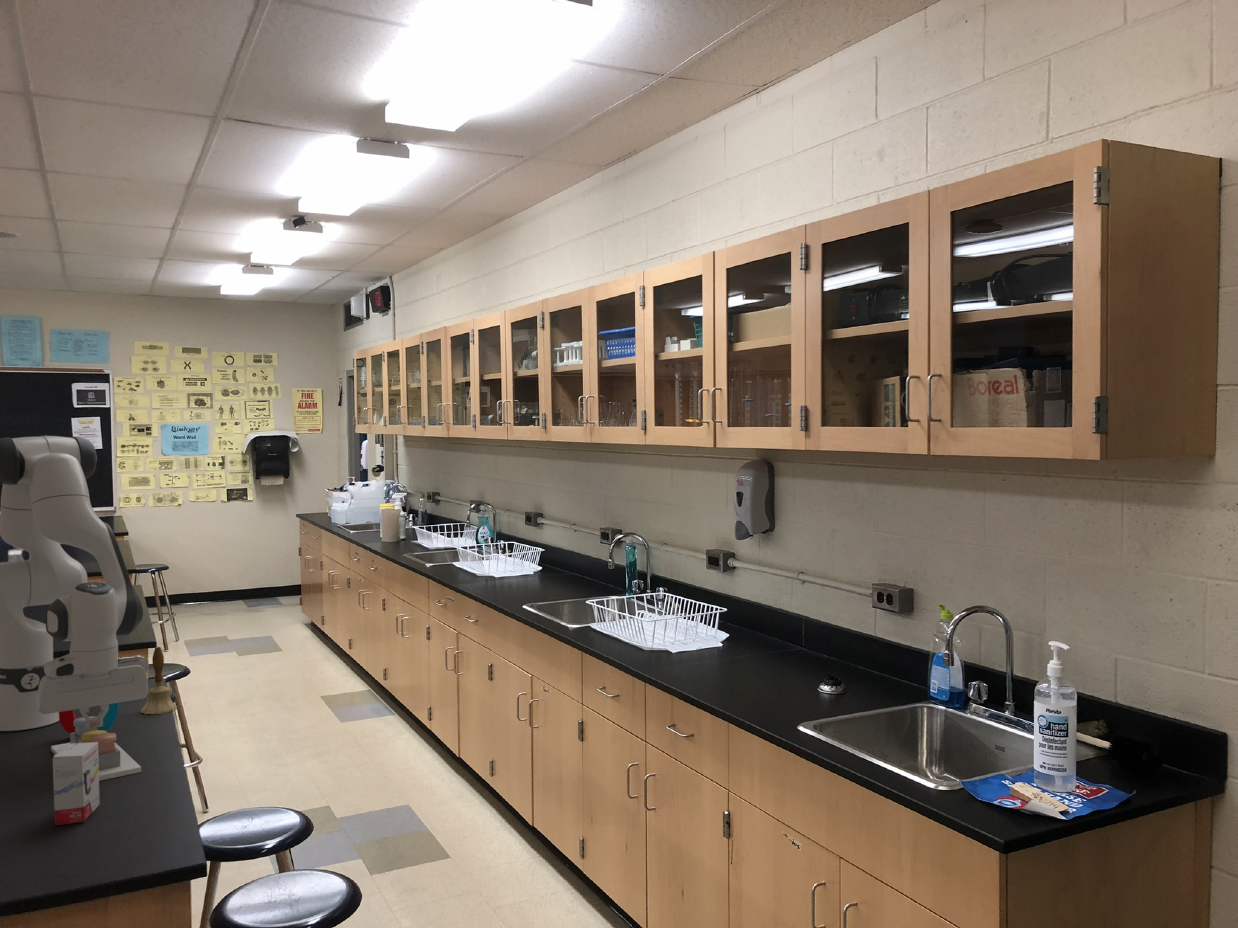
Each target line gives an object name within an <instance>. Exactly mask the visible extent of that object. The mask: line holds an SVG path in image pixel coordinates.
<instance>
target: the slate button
mask: <svg viewBox="0 0 1238 928" xmlns="http://www.w3.org/2000/svg"><path fill="white" fill-rule="evenodd" d="M88 717H89V718H93V717H95V716H88ZM74 727H75V735H76V736H77V737H82V734H84V733H87V732H91V731H97V727H93V728H88V729H87V728H86V726H85V718H84V717H83V716H82V717H77V719H75V720H74Z"/></svg>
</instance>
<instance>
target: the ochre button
mask: <svg viewBox="0 0 1238 928" xmlns="http://www.w3.org/2000/svg"><path fill="white" fill-rule="evenodd" d="M102 733H108V730H106V731H103V730H98V731H91V732H87V733H84V734H82V741H83V743H90V737H92V736H94V735H97V734H102Z"/></svg>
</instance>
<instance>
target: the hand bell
mask: <svg viewBox="0 0 1238 928" xmlns="http://www.w3.org/2000/svg"><path fill="white" fill-rule="evenodd" d="M151 658H152V667H153V670H154V687H152V688H151V689H148V695H147V700H146V702H145V705H144V706H143V707H142V708H141V710H140V711H141V712H140V714H142V713H144V714H143V715H146V714H156V715H162V714H167V713H172V712H174V711H176V710H177V709H178V706H177V705H176V704H175V703H174V702H173V700H172V698H171V694H170V689H169V688H168V687H167V686H164V682H163V674H162V673H163V668H164V663H165V656H164V654H163V651H162V648H161V647H160V646H156V647H154V651H153V653H152V657H151ZM171 709H172V712H171Z"/></svg>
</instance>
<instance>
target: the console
mask: <svg viewBox="0 0 1238 928" xmlns="http://www.w3.org/2000/svg"><path fill="white" fill-rule="evenodd" d="M97 731H98V729H97ZM69 735H70V739H69V740H70V742H67V743H61V744H55V745H51V746H50V751H51V752H52V754H53V756H55V755H56V754H57V753H59V752H60V751H61V750H63V749H64V748H65V747H67V746H68V745H69V744H75V743H83V741H82V737H77V736H76V735H75V732H73V733H70V734H69ZM98 760H99V782H101V781H105V780H110V779H114V778H118V777H124V776H128V775H129V776H130V775H135V774H137V773H142V766H141V765H140V764H139V763H137V761H135V760H134V759H133V758H132V757H131V756H130V755H129V754H128V753H127V752H126V751H125V750H124V749H123V748H122V747H121V746H120V745H118V743H116V742H115V752H110V753H105V754H100V755H98Z"/></svg>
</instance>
